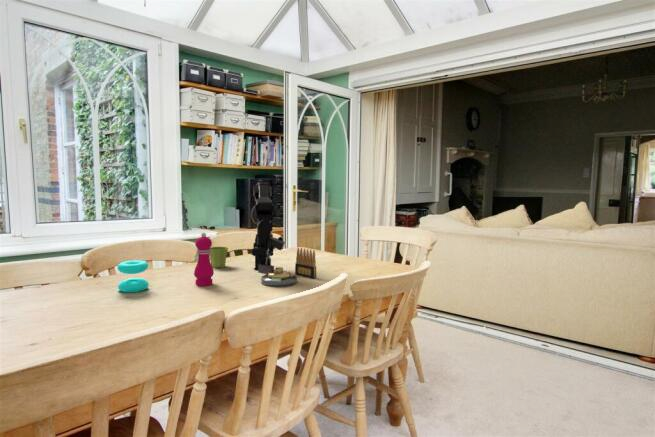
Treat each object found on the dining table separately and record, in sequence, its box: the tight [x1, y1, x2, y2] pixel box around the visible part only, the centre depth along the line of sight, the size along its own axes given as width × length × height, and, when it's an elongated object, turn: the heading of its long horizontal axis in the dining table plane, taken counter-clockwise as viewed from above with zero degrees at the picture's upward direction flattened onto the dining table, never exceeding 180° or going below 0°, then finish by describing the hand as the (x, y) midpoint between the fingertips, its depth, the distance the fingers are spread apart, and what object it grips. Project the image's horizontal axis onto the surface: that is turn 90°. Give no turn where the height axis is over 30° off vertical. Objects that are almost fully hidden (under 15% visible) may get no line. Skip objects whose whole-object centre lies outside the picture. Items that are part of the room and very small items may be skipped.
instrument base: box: [260, 274, 298, 288], centre depth 163 cm, size 14×14×3 cm
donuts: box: [117, 259, 149, 293], centre depth 148 cm, size 10×10×10 cm
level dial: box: [257, 264, 291, 279], centre depth 164 cm, size 15×9×4 cm, turn 56°
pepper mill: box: [193, 232, 215, 287], centre depth 157 cm, size 7×7×20 cm
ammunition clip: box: [294, 247, 317, 280], centre depth 173 cm, size 11×2×12 cm, turn 52°
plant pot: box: [209, 246, 229, 269], centre depth 188 cm, size 9×9×9 cm
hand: (263, 268), depth 171 cm, fingers closed
